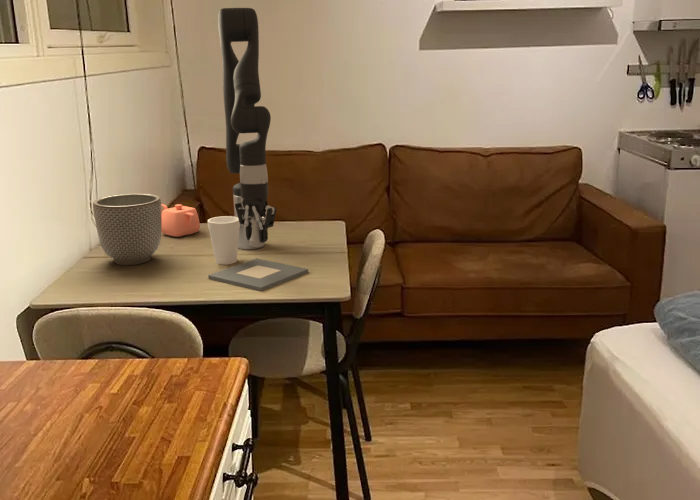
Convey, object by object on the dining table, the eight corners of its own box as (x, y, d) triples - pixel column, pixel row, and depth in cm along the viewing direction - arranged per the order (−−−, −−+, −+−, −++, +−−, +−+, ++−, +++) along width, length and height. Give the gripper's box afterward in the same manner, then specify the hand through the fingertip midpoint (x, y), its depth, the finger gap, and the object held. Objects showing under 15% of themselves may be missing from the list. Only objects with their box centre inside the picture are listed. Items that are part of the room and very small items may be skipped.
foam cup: (226, 255, 228) (223, 214, 224) (248, 260, 223) (245, 218, 219) (204, 262, 220) (201, 221, 217) (226, 267, 215) (223, 224, 212)
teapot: (182, 240, 246) (179, 210, 244) (150, 232, 258) (147, 204, 255) (208, 234, 255) (206, 204, 252) (177, 226, 266) (174, 198, 263)
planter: (87, 261, 224) (79, 200, 219) (143, 248, 238) (138, 190, 232) (121, 274, 211) (114, 209, 206) (178, 259, 225) (173, 198, 219)
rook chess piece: (249, 243, 207) (248, 215, 205) (265, 242, 207) (264, 215, 205) (248, 247, 203) (247, 219, 201) (264, 246, 203) (263, 218, 201)
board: (208, 278, 205) (208, 274, 205) (257, 261, 221) (256, 258, 221) (261, 291, 194) (260, 287, 194) (308, 272, 210) (308, 268, 209)
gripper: (225, 180, 201) (229, 240, 206) (264, 184, 193) (267, 247, 198) (244, 176, 207) (247, 234, 212) (282, 180, 199) (285, 241, 204)
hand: (257, 240), depth 205 cm, fingers closed on rook chess piece, 4 cm apart
